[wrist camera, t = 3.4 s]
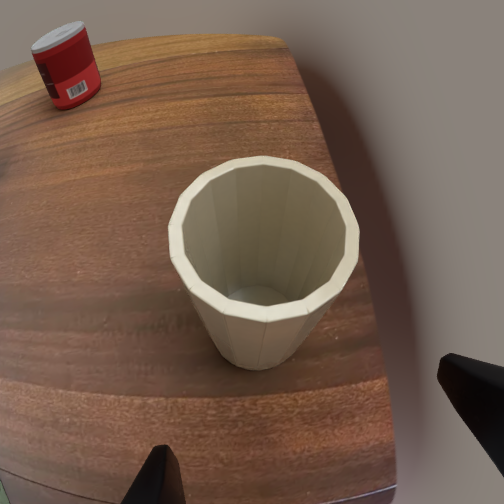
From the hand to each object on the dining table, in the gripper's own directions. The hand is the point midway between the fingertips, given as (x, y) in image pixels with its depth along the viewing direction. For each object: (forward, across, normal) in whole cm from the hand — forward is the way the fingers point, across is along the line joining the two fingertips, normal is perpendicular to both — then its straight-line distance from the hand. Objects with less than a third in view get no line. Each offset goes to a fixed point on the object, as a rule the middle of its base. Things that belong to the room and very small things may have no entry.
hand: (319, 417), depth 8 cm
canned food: (+40, +17, -22) cm, 48 cm away
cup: (+13, 0, +4) cm, 14 cm away
